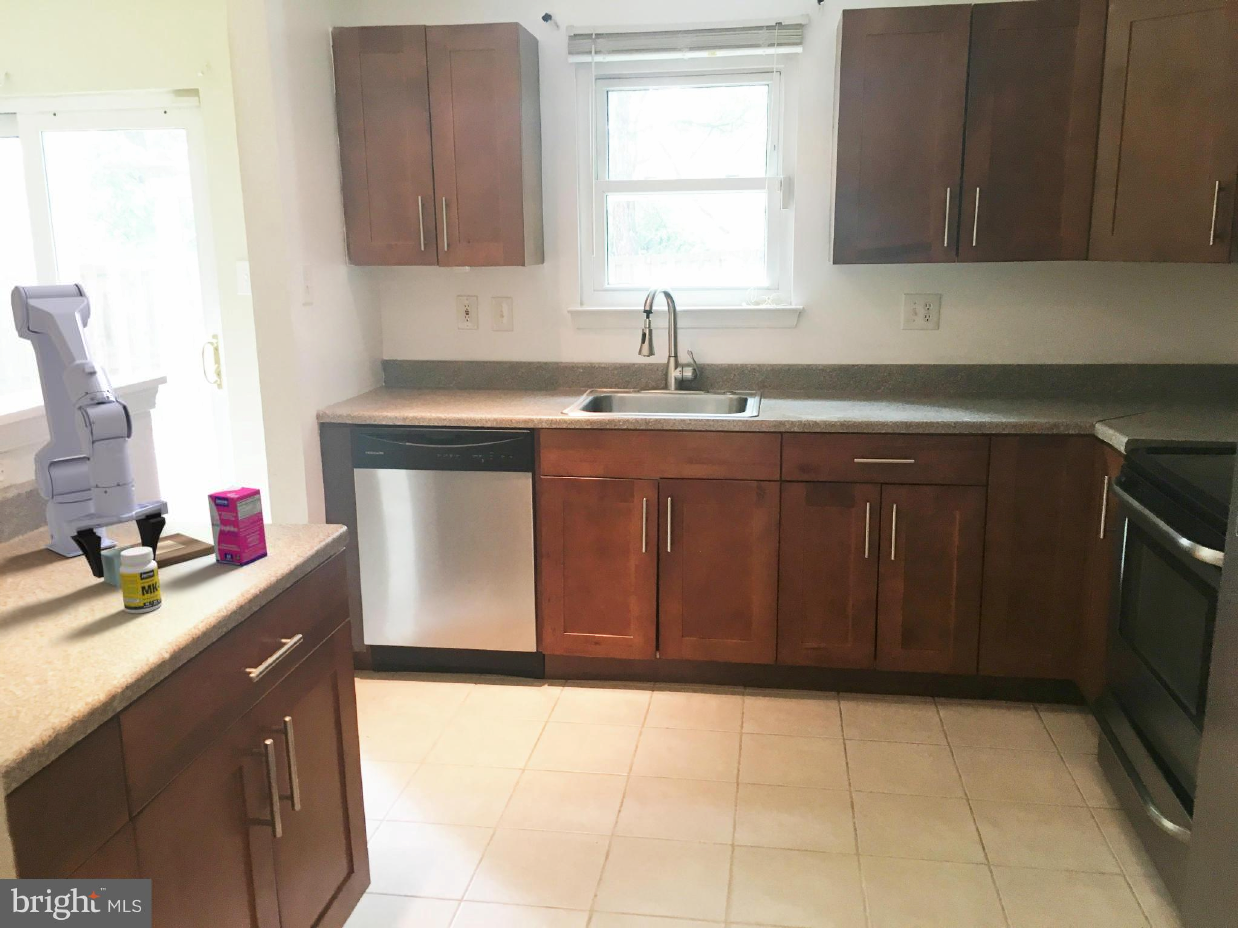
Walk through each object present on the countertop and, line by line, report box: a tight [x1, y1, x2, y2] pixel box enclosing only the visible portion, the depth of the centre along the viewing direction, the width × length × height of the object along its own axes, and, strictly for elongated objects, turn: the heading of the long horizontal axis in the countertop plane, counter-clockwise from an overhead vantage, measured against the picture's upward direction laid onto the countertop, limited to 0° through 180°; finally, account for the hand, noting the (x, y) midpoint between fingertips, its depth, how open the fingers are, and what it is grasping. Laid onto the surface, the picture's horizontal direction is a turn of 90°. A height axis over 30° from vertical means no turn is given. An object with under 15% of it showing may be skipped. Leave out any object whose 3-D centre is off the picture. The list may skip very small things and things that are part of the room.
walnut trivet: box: [108, 532, 215, 569], centre depth 155 cm, size 12×12×1 cm
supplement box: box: [207, 485, 268, 567], centre depth 151 cm, size 6×6×12 cm
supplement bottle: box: [119, 547, 163, 614], centre depth 131 cm, size 5×5×8 cm
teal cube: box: [101, 545, 135, 588], centre depth 143 cm, size 4×4×4 cm
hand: (124, 569), depth 143 cm, fingers open, 7 cm apart
